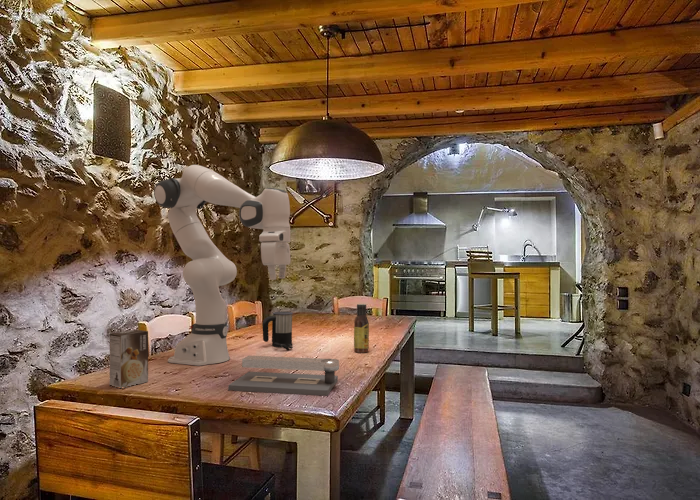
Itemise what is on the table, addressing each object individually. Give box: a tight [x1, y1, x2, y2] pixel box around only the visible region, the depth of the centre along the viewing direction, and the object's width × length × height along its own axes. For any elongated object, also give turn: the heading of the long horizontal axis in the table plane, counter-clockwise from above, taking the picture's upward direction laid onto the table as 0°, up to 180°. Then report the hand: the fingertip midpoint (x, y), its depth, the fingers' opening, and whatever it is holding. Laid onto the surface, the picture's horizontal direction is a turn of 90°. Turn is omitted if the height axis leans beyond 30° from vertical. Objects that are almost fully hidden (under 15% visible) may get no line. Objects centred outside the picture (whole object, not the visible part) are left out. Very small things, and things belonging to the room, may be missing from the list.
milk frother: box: [262, 311, 294, 351], centre depth 193 cm, size 14×16×15 cm
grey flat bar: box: [241, 355, 340, 372], centre depth 136 cm, size 30×6×2 cm, turn 81°
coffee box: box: [109, 329, 149, 388], centre depth 136 cm, size 9×6×16 cm
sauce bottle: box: [353, 303, 370, 354], centre depth 185 cm, size 7×6×20 cm
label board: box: [227, 371, 339, 397], centre depth 136 cm, size 30×16×5 cm, turn 81°
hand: (277, 279), depth 144 cm, fingers open, 8 cm apart
